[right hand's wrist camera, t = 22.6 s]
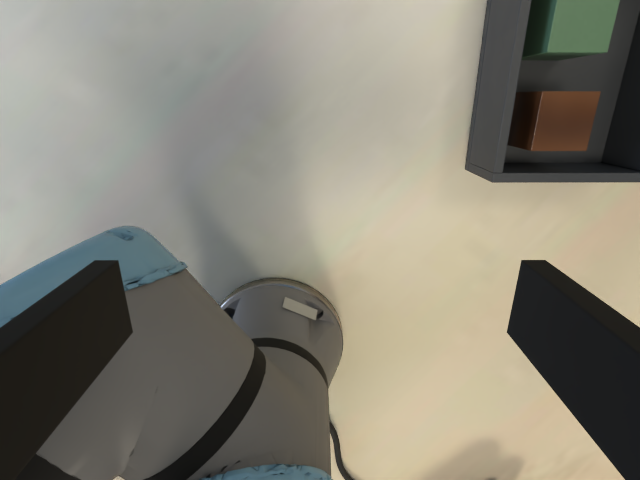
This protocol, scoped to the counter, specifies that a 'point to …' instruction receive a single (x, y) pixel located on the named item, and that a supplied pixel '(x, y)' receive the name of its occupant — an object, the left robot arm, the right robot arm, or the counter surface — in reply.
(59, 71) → the counter surface
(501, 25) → the bin
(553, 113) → the walnut block
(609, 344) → the right robot arm
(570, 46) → the green block
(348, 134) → the counter surface
